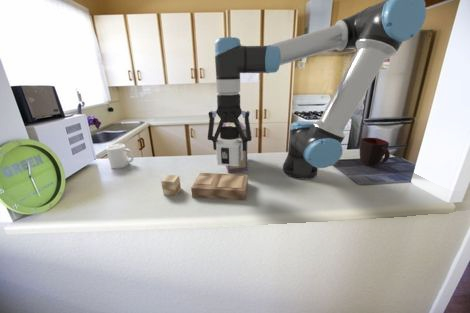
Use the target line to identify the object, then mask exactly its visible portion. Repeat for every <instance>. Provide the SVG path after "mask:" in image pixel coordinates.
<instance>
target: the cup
mask: <svg viewBox="0 0 470 313" xmlns="http://www.w3.org/2000/svg"><path fill="white" fill-rule="evenodd" d="M105 151H106V155H107V157H108V161H109V164H110V167H111V168H112V169H122V168H125V167H127V166H128V165H129V164H130V163H132V162H133V161H134V154H133V151H132V150H131V149H129V148H127V147H126V145H125V144H124V143H115V144H110V145H108V146H106V147H105ZM128 152H129V154H130V158H131V159H129V157H128Z"/></svg>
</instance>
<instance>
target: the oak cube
mask: <svg viewBox="0 0 470 313" xmlns="http://www.w3.org/2000/svg"><path fill="white" fill-rule="evenodd" d="M160 183H161V187H162V193H163V196H177V195H178V193H179V192H180V191H181V189H182V187H181V179H180V175H179V174H178V175H177V174H166V175H165V176H164V177H163V179H162V180H161V181H160Z"/></svg>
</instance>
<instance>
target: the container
mask: <svg viewBox="0 0 470 313" xmlns="http://www.w3.org/2000/svg"><path fill="white" fill-rule="evenodd" d="M219 140H220V141H219V143H218V144H217V153H216V160H217V161H216V162H217V165H218V166H226V165H227V166H239V164H240V162H241V150H240V143H241V141H242V139H239V132H238V130H237V128H236V126H224V127H222V128H221V130H220V134H219Z"/></svg>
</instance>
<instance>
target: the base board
mask: <svg viewBox="0 0 470 313" xmlns="http://www.w3.org/2000/svg"><path fill="white" fill-rule="evenodd" d="M248 181H249V175H248V174H236V173H235V174H233V173H212V172H211V173H210V172H200V173H198V176H197V177H196V179H195V181H194V182H193V184H192V186H191V187H190V190H191V197H192V198H201V199H218V200H233V201H234V200H235V201H246V199H247V192H248V185H249V183H248Z"/></svg>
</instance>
